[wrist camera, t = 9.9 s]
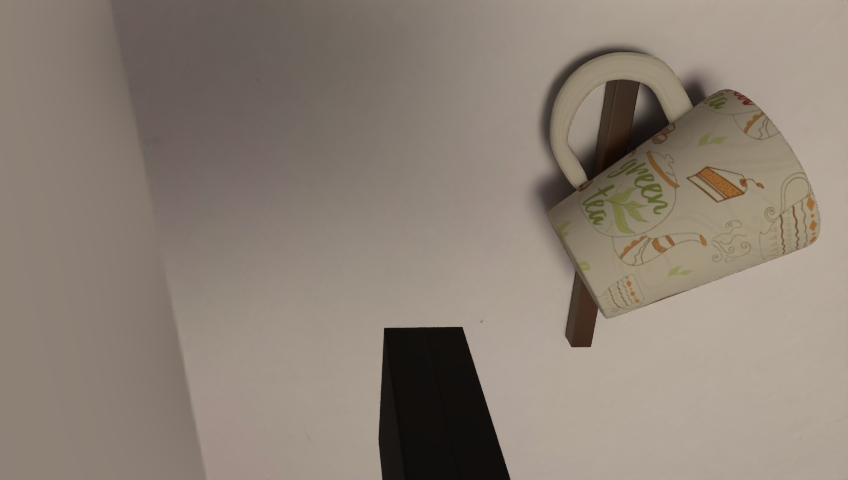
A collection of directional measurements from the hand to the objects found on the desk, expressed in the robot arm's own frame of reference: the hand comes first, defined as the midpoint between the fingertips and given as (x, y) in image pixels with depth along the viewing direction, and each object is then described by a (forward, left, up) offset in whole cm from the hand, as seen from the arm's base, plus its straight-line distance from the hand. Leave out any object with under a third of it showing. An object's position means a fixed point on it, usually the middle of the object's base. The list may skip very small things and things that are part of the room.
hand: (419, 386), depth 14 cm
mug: (+6, +9, -20) cm, 22 cm away
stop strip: (+6, +12, -23) cm, 27 cm away
